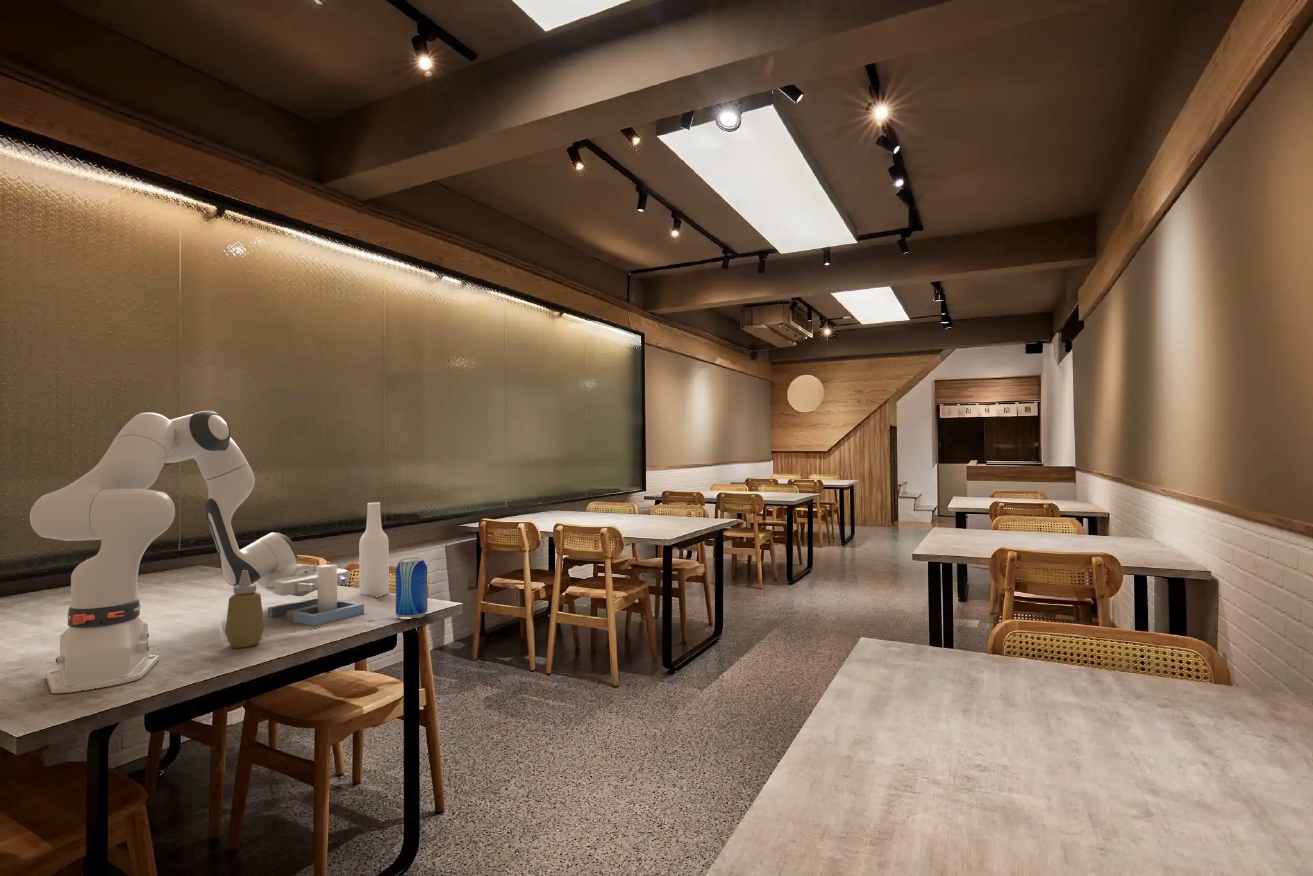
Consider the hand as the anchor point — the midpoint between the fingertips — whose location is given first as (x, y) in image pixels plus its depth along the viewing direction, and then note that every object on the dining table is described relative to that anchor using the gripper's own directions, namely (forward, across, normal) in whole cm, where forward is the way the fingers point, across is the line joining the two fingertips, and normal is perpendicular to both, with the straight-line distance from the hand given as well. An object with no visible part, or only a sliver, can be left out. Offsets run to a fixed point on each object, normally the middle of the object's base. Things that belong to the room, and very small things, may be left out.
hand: (329, 584), depth 182 cm
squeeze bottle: (+3, -24, +10) cm, 26 cm away
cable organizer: (-6, 0, +10) cm, 12 cm away
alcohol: (-17, +27, +10) cm, 34 cm away
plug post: (-1, 0, +9) cm, 9 cm away
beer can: (+17, +14, +10) cm, 24 cm away
